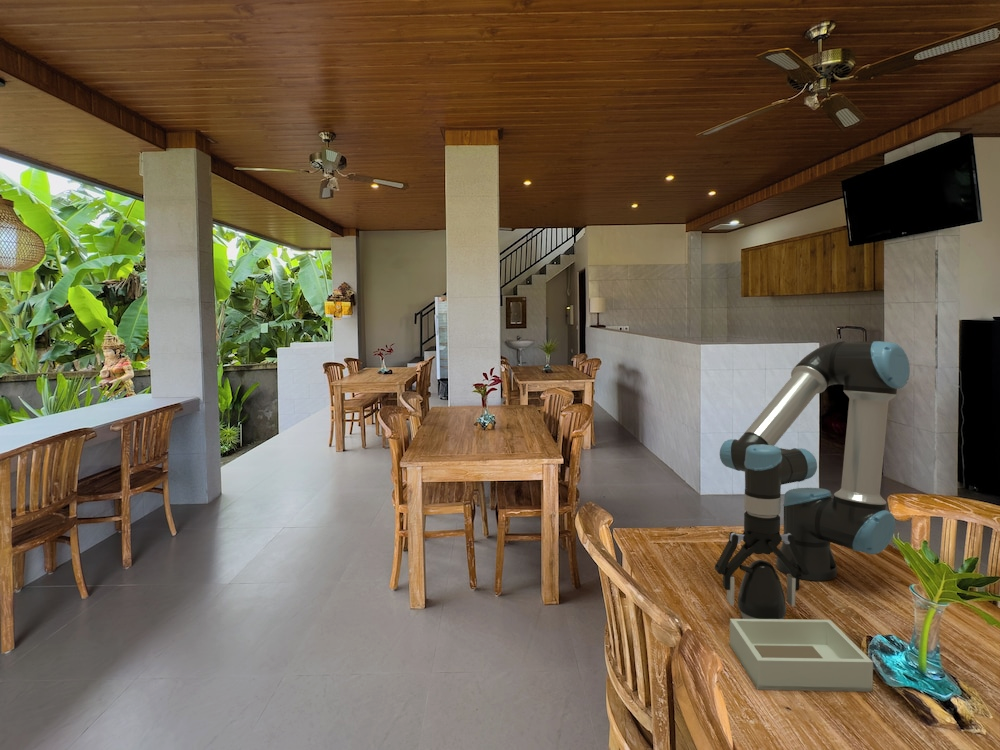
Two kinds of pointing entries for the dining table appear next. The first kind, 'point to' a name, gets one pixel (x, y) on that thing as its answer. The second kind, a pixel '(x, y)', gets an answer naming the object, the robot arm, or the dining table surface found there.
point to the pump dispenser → (761, 592)
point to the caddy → (800, 655)
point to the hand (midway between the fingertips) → (760, 603)
